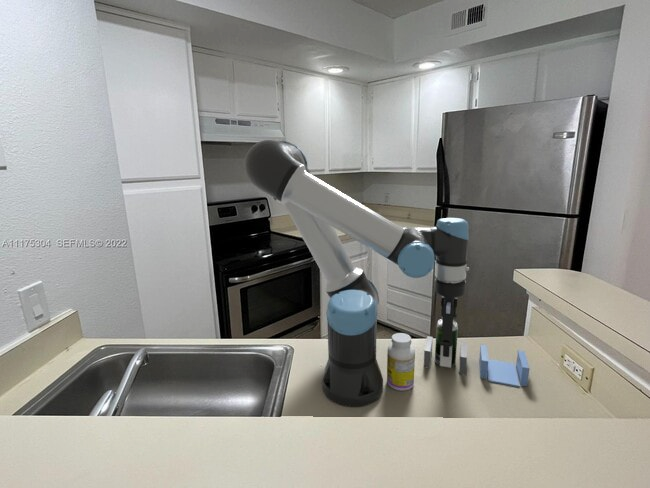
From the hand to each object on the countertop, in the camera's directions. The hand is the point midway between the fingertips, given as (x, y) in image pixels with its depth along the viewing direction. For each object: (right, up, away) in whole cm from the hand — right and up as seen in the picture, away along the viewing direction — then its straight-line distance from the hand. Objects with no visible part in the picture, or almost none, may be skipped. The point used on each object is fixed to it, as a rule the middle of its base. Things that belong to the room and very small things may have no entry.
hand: (446, 352), depth 94 cm
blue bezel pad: (+13, -4, -4) cm, 14 cm away
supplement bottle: (-14, -6, -7) cm, 17 cm away
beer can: (0, -3, +1) cm, 4 cm away
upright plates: (+6, -4, -2) cm, 7 cm away
